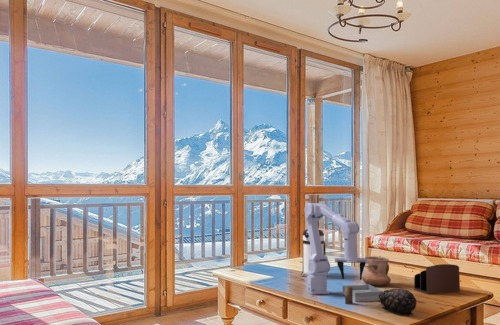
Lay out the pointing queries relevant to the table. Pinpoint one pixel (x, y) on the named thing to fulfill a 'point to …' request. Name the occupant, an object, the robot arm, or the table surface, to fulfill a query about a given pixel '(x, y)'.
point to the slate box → (364, 293)
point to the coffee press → (307, 250)
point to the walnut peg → (348, 295)
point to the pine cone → (398, 301)
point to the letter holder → (438, 279)
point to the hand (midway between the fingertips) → (351, 279)
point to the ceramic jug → (377, 271)
